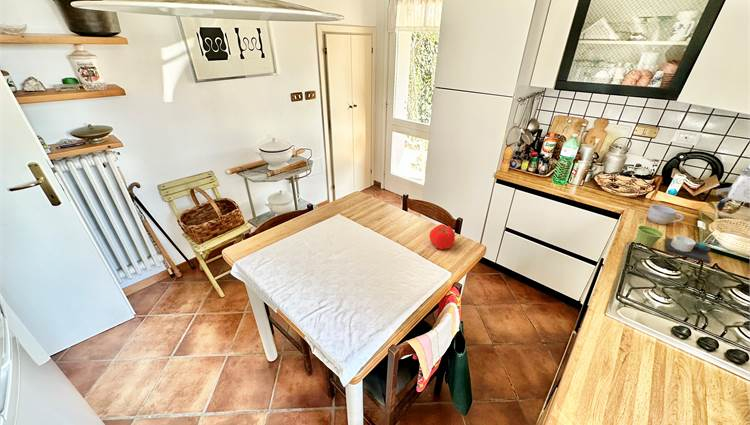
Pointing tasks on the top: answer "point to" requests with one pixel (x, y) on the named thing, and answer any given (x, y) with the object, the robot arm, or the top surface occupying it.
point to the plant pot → (648, 235)
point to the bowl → (683, 243)
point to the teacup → (662, 214)
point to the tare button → (702, 245)
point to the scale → (695, 254)
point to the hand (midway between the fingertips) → (735, 212)
